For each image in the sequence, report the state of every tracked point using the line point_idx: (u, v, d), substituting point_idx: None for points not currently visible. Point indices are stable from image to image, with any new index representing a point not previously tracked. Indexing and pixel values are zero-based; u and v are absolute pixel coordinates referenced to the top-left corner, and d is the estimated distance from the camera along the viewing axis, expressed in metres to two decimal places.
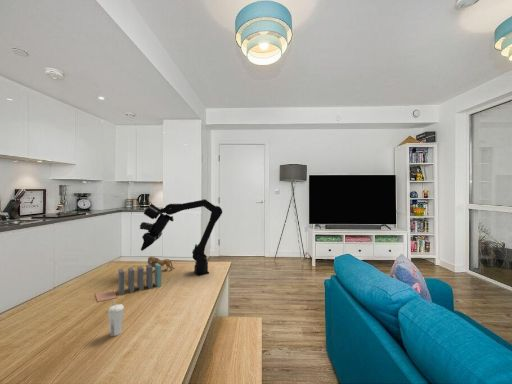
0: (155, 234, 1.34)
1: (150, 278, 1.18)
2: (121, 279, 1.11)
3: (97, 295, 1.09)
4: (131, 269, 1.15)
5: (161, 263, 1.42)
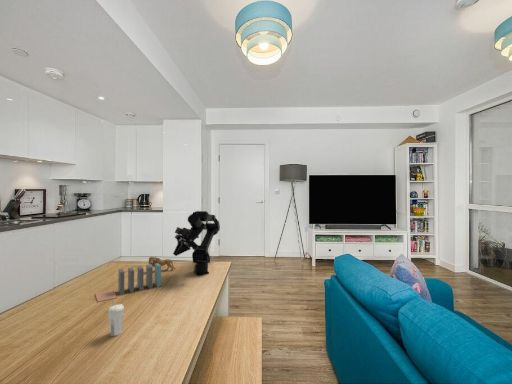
0: None
1: (150, 278, 1.18)
2: (121, 279, 1.11)
3: (97, 295, 1.09)
4: (131, 269, 1.15)
5: (162, 263, 1.42)
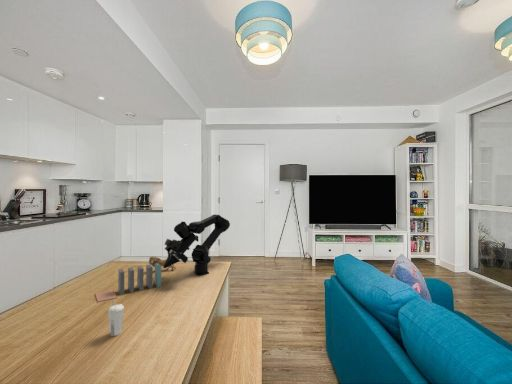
0: None
1: (150, 278, 1.18)
2: (121, 279, 1.11)
3: (97, 295, 1.09)
4: (131, 269, 1.15)
5: (162, 263, 1.42)
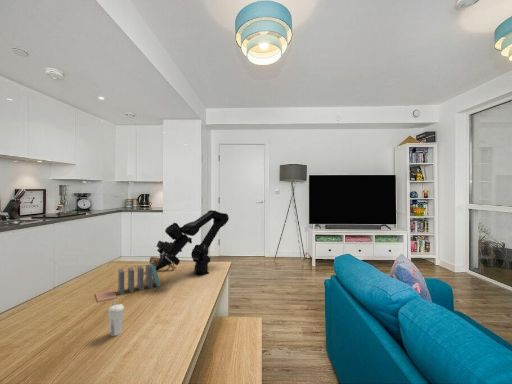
0: None
1: (150, 278, 1.18)
2: (121, 279, 1.11)
3: (97, 295, 1.09)
4: (131, 269, 1.15)
5: None
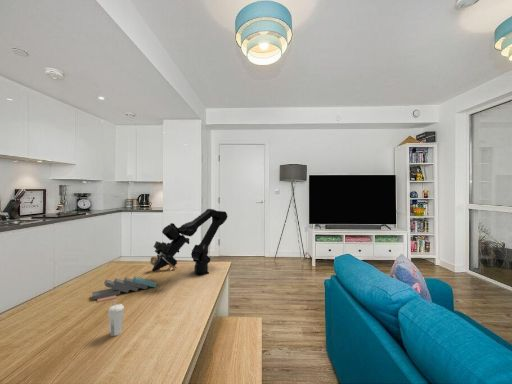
0: None
1: (137, 285, 1.14)
2: (102, 296, 1.06)
3: None
4: (105, 283, 1.09)
5: None
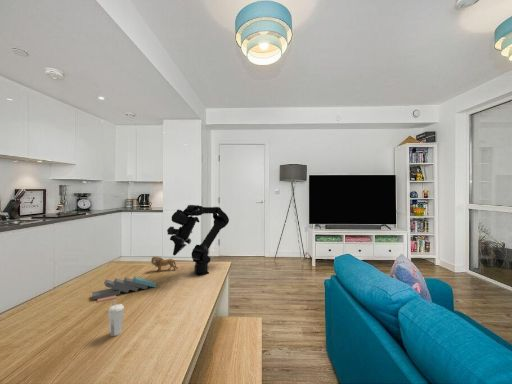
0: (183, 237, 1.29)
1: (137, 285, 1.14)
2: (102, 296, 1.06)
3: None
4: (105, 283, 1.09)
5: (165, 263, 1.43)
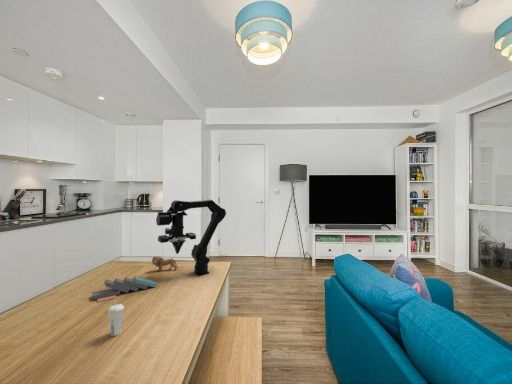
0: (173, 235, 1.30)
1: (137, 285, 1.14)
2: (102, 296, 1.06)
3: None
4: (105, 283, 1.09)
5: (165, 263, 1.43)
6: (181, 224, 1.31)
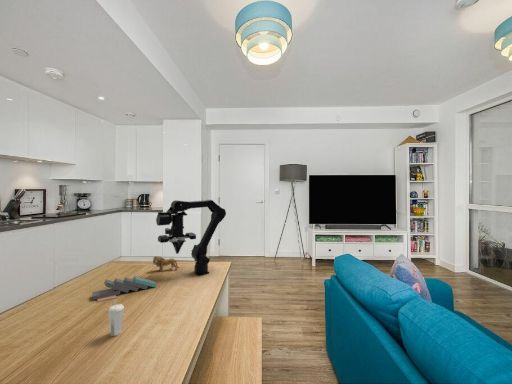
0: (173, 235, 1.30)
1: (137, 285, 1.14)
2: (102, 296, 1.06)
3: None
4: (105, 283, 1.09)
5: (166, 262, 1.43)
6: (181, 224, 1.31)
